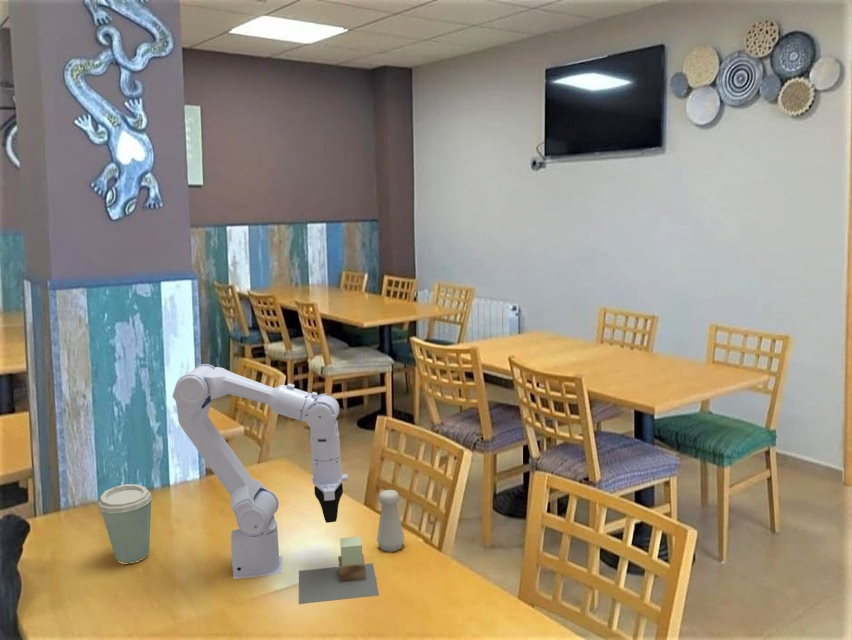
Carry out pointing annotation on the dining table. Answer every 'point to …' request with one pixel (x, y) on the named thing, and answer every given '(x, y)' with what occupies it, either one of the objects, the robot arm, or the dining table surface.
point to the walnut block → (351, 571)
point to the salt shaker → (389, 522)
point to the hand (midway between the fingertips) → (330, 520)
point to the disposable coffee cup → (127, 520)
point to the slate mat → (334, 585)
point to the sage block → (351, 551)
